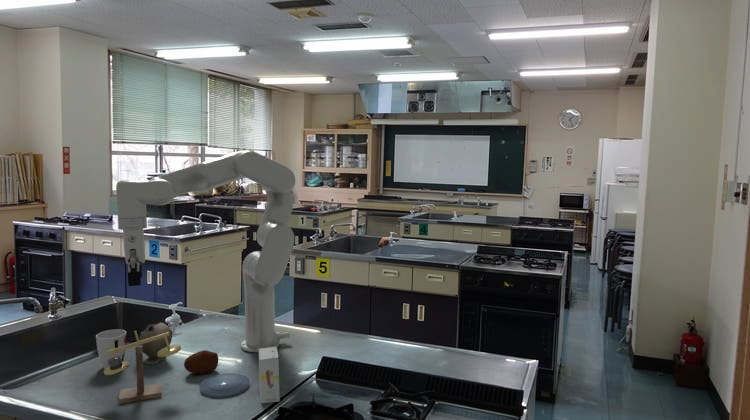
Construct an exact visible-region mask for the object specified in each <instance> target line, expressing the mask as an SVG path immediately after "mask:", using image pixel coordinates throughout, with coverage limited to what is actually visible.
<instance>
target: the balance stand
mask: <svg viewBox="0 0 750 420" xmlns="http://www.w3.org/2000/svg"><path fill="white" fill-rule="evenodd" d="M134 349H135V365H136V366H135V368H136V370H135V371H136V386H135V387H128V388H122V389H119V395H118V396H119V398H118V399H119V400H118V403H119V405H121V404H127V403H133V401H134V402H137V401H138V402H140V401H145V400H150V399H156V398H163V397H162V396H163V395H162V383H154V384H149V385H145V378H144V376H145V375H144V355H143V354H144V353H143V350H142V345H141V346H135V348H134Z"/></svg>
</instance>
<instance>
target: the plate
mask: <svg viewBox="0 0 750 420" xmlns="http://www.w3.org/2000/svg"><path fill="white" fill-rule="evenodd" d="M249 387H250V379H249V377H247V375H244V374H242V373H237V372H235V373H233V372H229V373H228V372H227V373H225V372H224V373H219V374H214V375H212V376H209V377H206V378H205V379H204V380H202V381H201V382H200V384H199V392H200V393H201V394H202V395H204V396H206V397H209V398H227V397H232V396H236V395H239V394H241V393H244V391H247V389H248V388H249Z"/></svg>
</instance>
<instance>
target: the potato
mask: <svg viewBox="0 0 750 420" xmlns="http://www.w3.org/2000/svg"><path fill="white" fill-rule="evenodd" d="M183 365H184V366H183V367H184V369H185V370H186V371H187V372H188V373H190V374H197V375H207V374H209V373H212V372H214V371H215V370H216V369H218V365H219V355H218V352H214V351H209V350H207V349H206V350H205V349H204V350H200V351H198V352H195V353H193V354H191V355H189V356H188V357H186V358H185V360H184V363H183Z"/></svg>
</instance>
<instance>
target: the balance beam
mask: <svg viewBox="0 0 750 420" xmlns="http://www.w3.org/2000/svg"><path fill="white" fill-rule="evenodd" d="M137 332H138V331H137V330H134V335H135V339H136V341H135V342H131V343H128V344H126V345H125V346H121V347H118V348H115V349H112V350H109V351H107V354H108V355H109V354H111V355H112V358H110V359H108V360H107V361H108V364H109V367H107V368H106V369H103V373H104V375H105V376H110V375H111V376H112V375H115V374H118V373H121V372H123V371H125V370H126V369H128V368H129V367H130V362H129V361H124V360H123V362H122V361H121V358H120V356H114V353H116V352H119V351H122V350H125V351H126V350H129V349H131V348H134V347H135V348H136V346H138V345H141V344H144V343H147V342H150V341H154V340H157V339H160V338H163V337H165V341H166V345H167V347H165V348H163V349H161V350H160V351H159V352H158V353H157V355H158V357H165V358H167V357H171V356H173V355H176V354H177V353H178V352H180V351H181V350H182V346H181V345H180V344H170V346H169V344H168V340H167V337H166V336H169V332H166V333H163V334H160V335H157V336H153V337H150V338H147V339H144V340H141V341H139V336H138V335H139V334H138V333H137Z"/></svg>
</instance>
